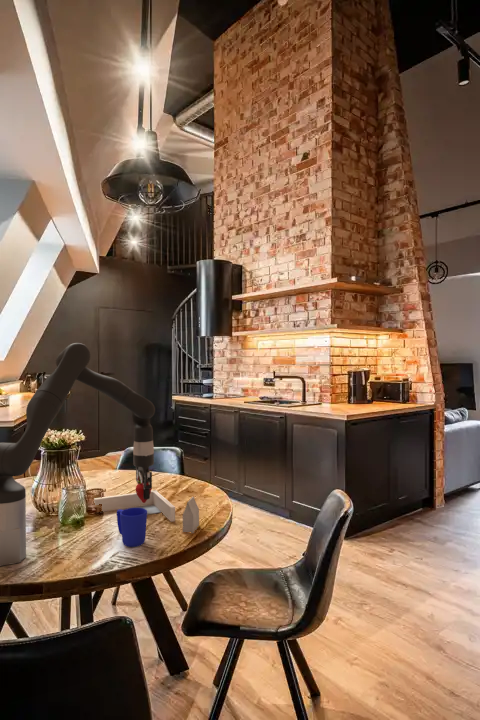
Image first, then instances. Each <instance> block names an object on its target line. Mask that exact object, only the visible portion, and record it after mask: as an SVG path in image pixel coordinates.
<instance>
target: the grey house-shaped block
mask: <svg viewBox="0 0 480 720" xmlns="http://www.w3.org/2000/svg"><path fill="white" fill-rule="evenodd" d="M198 526H200V508H199V505H198V504H197V501H196V499H195V496H192V497H191V498H190V499H189V500H188V501H187V502H186V506H185V509H184V511H183V513H182V533H183V532H191V533H190V534H195V532H196V531H197V529H198V528H199V527H198ZM197 527H198V528H197ZM195 530H196V531H195ZM194 531H195V532H194Z"/></svg>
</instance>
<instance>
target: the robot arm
mask: <svg viewBox="0 0 480 720" xmlns="http://www.w3.org/2000/svg"><path fill="white" fill-rule="evenodd" d="M90 360H91V352H90V350H89V348H88V346H86V344H83V343H80V342H74V343H71V344H69V345H67V346H66V347H65V348H64V349H62V351H61V352H59V354H58V355H57V357H56V358H55V364H56V368H55V369H54V371H52V373H51V374H50V375H49V376H48V377H46V379H45V380H44V381H43V382H42V383H41V385H40V386H39V387H38V388H37V389H36V391H35V392H34V394H33V395H32V397H31V399H30V400H29V402H28V403H27V405H26V409H25V413H26V414H25V416H26V428H25V431H24V432H23V434H22V435H21V437H20V438H19V440H18V441H17V442H0V567H3V566H7V565H12V564H18V563H21V562H22V561H23V560H24V559H26V556H27V520H26V519H27V515H26V513H27V509H26V507H27V502H26V500H27V498H26V497H27V496H26V495H27V494H26V493H27V491H26V488H25V486H24V485H22V484H20V483H19V482H17V481H16V480H15V478H14V477H19V476H23V475H24V474H25V473H26V472H27V471H28V470H29V468H30V467H31V465H32V463H33V461H34V459H35V457H36V455H37V452H38V451H39V448H40V446H41V444H42V442H43V440H44V438H45V437H46V434H47V432H48V430H49V429H50V426H51V425H52V423H53V422H54V420H55V418H56V417H57V415H58V414H59V412H60V410H61V409H62V407H63V406H64V403H65V402H66V401H67V400H66V399H67V398H68V396H69V394H70V391H71V390H72V388H73V387H74V385H75V382H76V381H78V382H81V383H82V384H85V385H87V386H88V387H90V388H92V389H95V390H97V391H98V392H100V393H102V395H103V394H104V395H105V396H107V397H108V398H110V400H113V401H114V402H115V403H117V404H118V405H120V406H122V407H123V408H126V409H128V410H129V411H130V412H131V419H132V423H133V449H132V450H133V451H132V452H133V453H132V454H133V458H132V459H133V463H132V464H133V466H134V467H135V480H136V481H141V483H142V484H143V498H144V499H145V500H146V499H149V498H150V488H152V489H153V472H152V471H151V470H150V467H151V466H153V465H154V464H155V463H154V462H155V460H154V459H155V457H154V456H155V453H154V451H155V446H154V429H153V426H152V425H151V418H152V417H153V416H154V415H155V414H156V413H155V412H156V406H155V405H154V403H153V402H152V401H151V400H149V399H147V398H145V397H144V396H143V395H141V394H139V393H137V392H136V391H134V390H133V389H132V388H131V387H129V386H128V385H126V384H125V383H123V382H122V381H120V380H119V379H116V378H114V377H112V376H108V375H104V374H101V373H99V372H96V371H93V370H91V369H90V368H89V367H87V365H88V364H89V363H90ZM139 483H140V482H136V485H137V484H139ZM147 483H148V485H147Z"/></svg>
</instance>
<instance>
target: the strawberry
mask: <svg viewBox="0 0 480 720" xmlns="http://www.w3.org/2000/svg"><path fill="white" fill-rule="evenodd" d="M137 482H140V483H139V484H137ZM147 485H148V483H147ZM152 490H153V487H152V488H150V493H151V491H152ZM135 493H137V495H138V497H139V498H140V500H141V501H142V502H143V503H145V502H146V500H147V499H146V500H145V499H144V498H143V484H142V483H141V481H136V486H135Z"/></svg>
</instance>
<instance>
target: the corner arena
mask: <svg viewBox="0 0 480 720" xmlns="http://www.w3.org/2000/svg"><path fill="white" fill-rule="evenodd" d="M101 497H102V498H101ZM101 497H96V498H95V497H94V498H93V504H94V503H95V505H99V504H102V511H103V512H110V511H117V510H120V509H121V510H125V509H129V508H144V509H146V510H147V516H149V515H155V514H160V513H161V512H162V513H163V514H162V513H161V514H162V515H163V516H164V515H165V516H164V517H166V519H167V520H169V522H171V523H172V522H176V506H175V505H174V504H172V503H171V501H169V500H168V499H167V498H166V497H164V496H163V495H162V494H161V493H159V492H158V490H157V489H151V493H150V498H149V499H147V500H146V502H145V503H143V502H142V501H141V500H140V498H139V497H138V495H137V493H136V492H131V493H125V494H116V495H111V496H110V495H109V496H108V495H107V496H101ZM103 512H102V513H103Z"/></svg>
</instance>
